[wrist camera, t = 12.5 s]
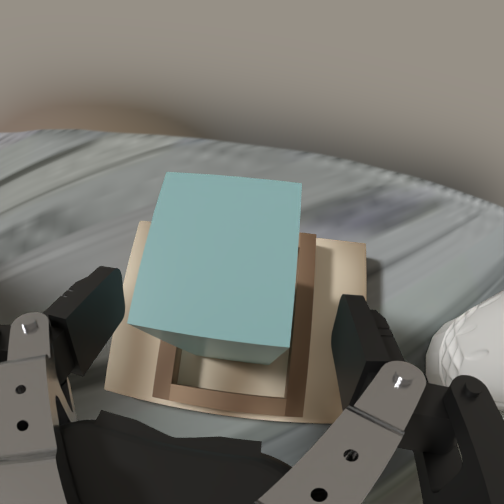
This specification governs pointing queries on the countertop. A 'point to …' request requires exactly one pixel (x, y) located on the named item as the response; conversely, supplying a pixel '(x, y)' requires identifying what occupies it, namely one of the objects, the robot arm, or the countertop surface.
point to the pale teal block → (220, 267)
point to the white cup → (471, 348)
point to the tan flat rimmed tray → (242, 373)
